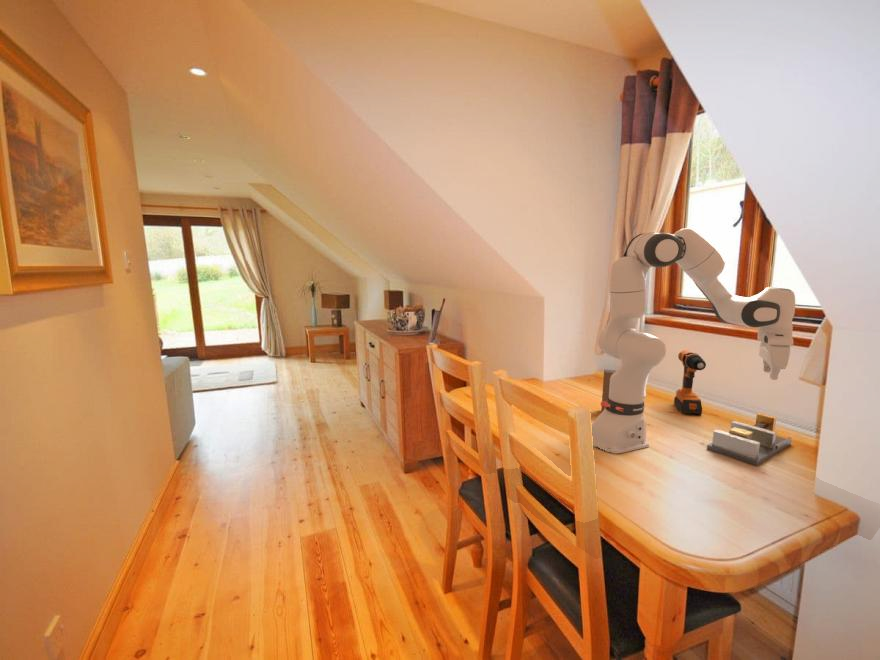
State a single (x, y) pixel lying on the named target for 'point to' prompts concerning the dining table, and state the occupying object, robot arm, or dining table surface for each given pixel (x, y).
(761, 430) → the sliding jaw
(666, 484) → the dining table surface
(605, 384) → the brown tall block
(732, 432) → the brass block
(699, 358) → the power drill
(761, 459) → the vise base
